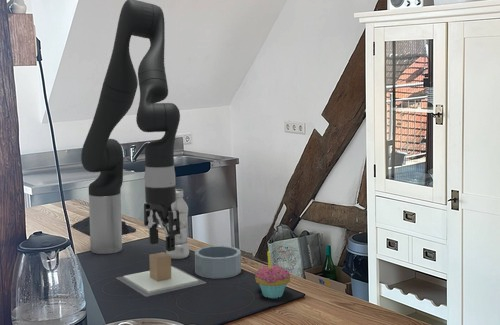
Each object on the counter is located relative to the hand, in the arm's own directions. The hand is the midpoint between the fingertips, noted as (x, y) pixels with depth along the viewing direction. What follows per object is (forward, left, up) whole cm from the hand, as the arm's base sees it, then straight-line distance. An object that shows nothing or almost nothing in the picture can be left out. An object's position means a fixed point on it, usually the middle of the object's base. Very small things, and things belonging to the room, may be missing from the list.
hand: (162, 247), depth 164 cm
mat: (0, 0, -10) cm, 10 cm away
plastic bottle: (-16, +14, -10) cm, 23 cm away
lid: (0, 0, -9) cm, 9 cm away
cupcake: (+23, +18, -10) cm, 30 cm away
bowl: (+2, +15, -10) cm, 18 cm away
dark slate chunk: (-61, +10, -10) cm, 62 cm away
